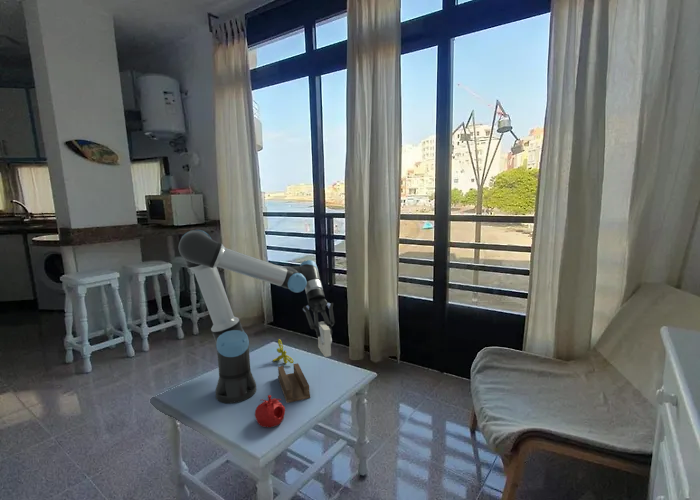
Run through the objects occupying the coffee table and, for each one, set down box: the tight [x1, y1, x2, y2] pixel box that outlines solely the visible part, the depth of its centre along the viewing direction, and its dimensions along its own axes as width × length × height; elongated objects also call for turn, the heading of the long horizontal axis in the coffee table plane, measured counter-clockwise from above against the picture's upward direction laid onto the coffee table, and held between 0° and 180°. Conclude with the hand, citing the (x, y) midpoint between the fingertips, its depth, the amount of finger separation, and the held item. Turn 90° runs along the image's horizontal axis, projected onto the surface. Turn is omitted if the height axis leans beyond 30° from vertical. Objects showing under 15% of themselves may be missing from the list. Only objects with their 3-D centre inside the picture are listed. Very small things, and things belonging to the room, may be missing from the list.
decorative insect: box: [272, 338, 294, 364], centre depth 162 cm, size 13×3×10 cm
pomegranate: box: [254, 394, 286, 428], centre depth 117 cm, size 10×10×9 cm
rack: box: [277, 362, 311, 404], centre depth 139 cm, size 9×20×5 cm, turn 20°
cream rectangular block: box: [317, 321, 332, 358], centre depth 142 cm, size 2×10×11 cm, turn 21°
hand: (326, 342), depth 138 cm, fingers closed on cream rectangular block, 2 cm apart
